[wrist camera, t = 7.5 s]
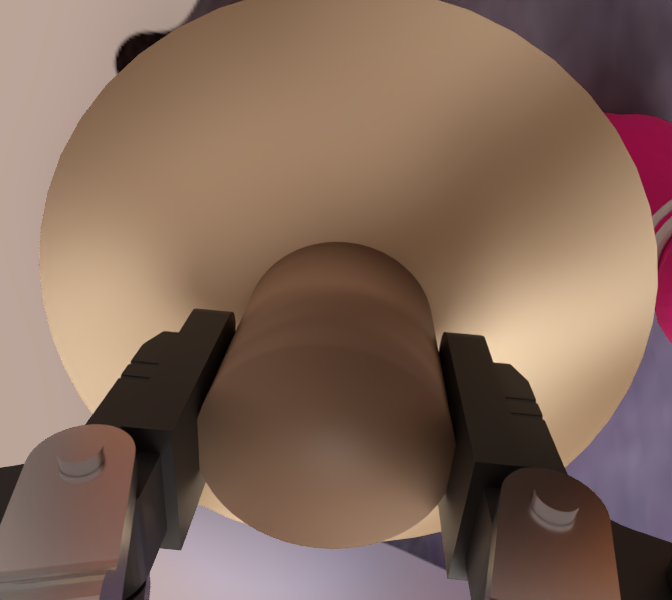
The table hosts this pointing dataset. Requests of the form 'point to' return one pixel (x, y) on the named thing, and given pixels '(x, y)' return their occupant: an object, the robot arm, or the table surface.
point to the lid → (350, 247)
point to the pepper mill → (654, 193)
